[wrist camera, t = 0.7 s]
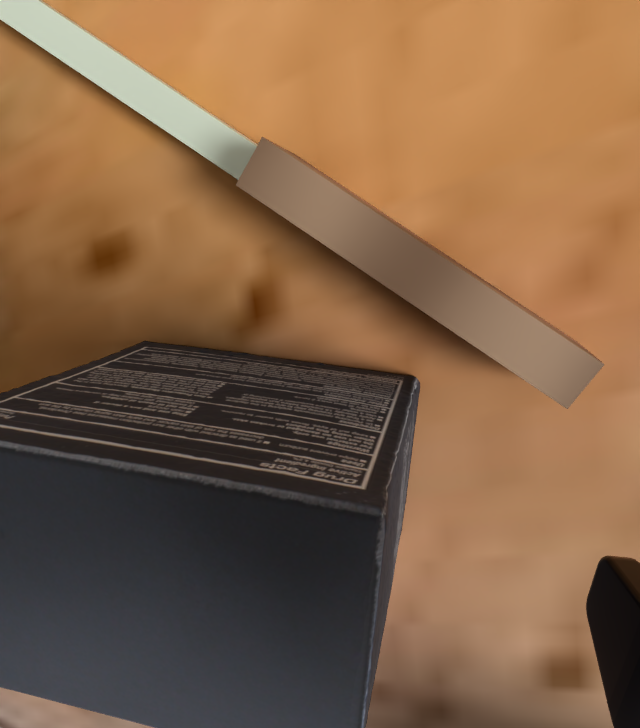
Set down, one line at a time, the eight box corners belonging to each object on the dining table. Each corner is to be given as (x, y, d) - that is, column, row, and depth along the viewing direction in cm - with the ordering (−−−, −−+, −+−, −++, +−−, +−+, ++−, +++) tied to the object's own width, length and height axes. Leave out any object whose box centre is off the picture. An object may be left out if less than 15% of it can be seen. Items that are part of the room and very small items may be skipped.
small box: (137, 497, 24) (-96, 682, 14) (140, 337, 22) (-118, 413, 12) (402, 547, 22) (354, 807, 12) (424, 373, 20) (389, 499, 10)
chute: (578, 343, 19) (604, 364, 16) (287, 705, 24) (259, 779, 21) (295, 154, 20) (262, 136, 16) (71, 543, 25) (11, 589, 22)
